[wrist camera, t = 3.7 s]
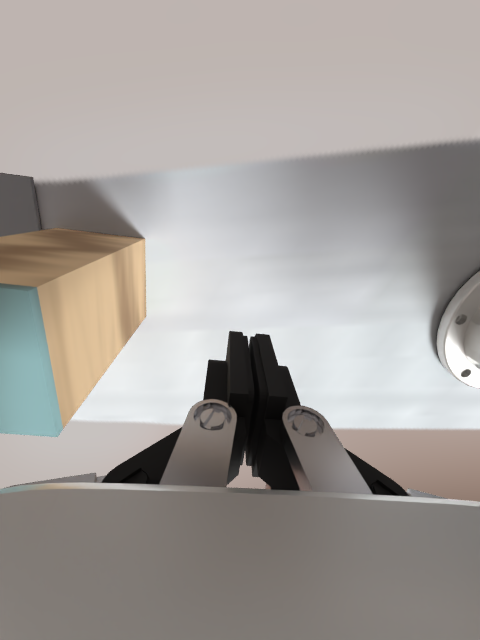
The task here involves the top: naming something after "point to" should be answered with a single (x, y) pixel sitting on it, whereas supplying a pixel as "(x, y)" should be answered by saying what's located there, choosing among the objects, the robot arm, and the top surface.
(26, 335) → the oak block
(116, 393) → the top surface
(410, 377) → the top surface
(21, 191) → the mat
